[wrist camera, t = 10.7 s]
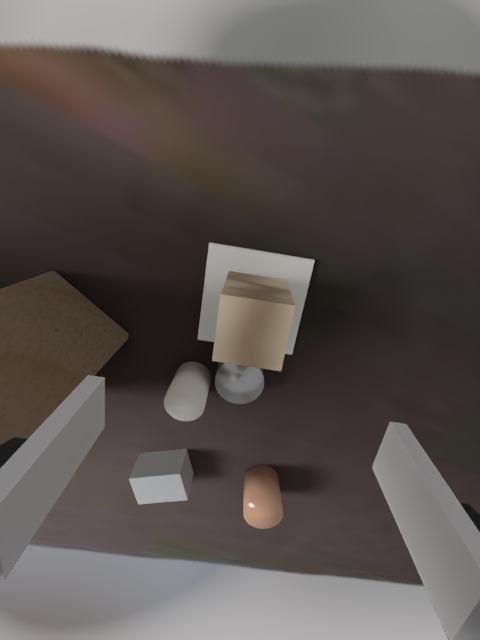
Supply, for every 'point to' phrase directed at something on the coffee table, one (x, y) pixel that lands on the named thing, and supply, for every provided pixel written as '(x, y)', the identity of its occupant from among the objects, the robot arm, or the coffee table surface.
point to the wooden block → (47, 349)
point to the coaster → (256, 264)
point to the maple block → (253, 321)
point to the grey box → (162, 476)
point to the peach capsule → (262, 497)
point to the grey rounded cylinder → (188, 392)
